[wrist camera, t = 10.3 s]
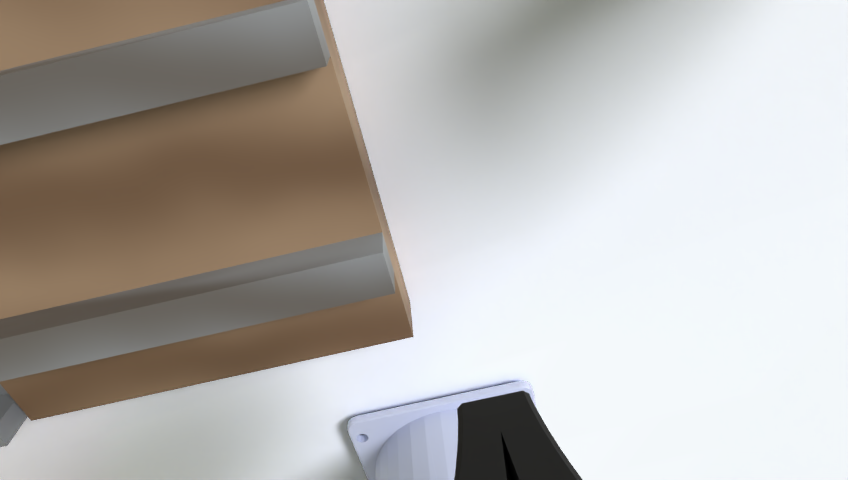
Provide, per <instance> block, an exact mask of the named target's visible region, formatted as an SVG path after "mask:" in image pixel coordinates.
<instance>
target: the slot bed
mask: <svg viewBox="0 0 848 480" xmlns="http://www.w3.org/2000/svg"><path fill="white" fill-rule="evenodd" d="M410 337H413V329H412V318H411V308H410V300H409V297H408V294H407V290H406V287H405V283H404V280H403V276H402V273H401V269H400V266H399V262H398V259H397V255H396V252H395V248H394V245H393V241H392V238H391V234H390V231H389V227H388V224H387V220H386V217H385V213H384V210H383V206H382V203H381V199H380V196H379V192H378V189H377V185H376V182H375V178H374V175H373V171H372V168H371V164H370V161H369V157H368V154H367V150H366V147H365V143H364V140H363V136H362V133H361V129H360V126H359V123H358V119H357V116H356V112H355V109H354V105H353V102H352V98H351V95H350V91H349V88H348V84H347V81H346V77H345V74H344V70H343V67H342V63H341V60H340V56H339V53H338V49H337V46H336V42H335V39H334V35H333V32H332V28H331V25H330V21H329V18H328V14H327V11H326V7H325V4H324V0H0V384H1V386H2V387H3V388H4V389H5V390H6V391H7V393H8V394H9V395H10V396H11V397H12V398H13V400H14V401H15V402H16V403H17V404H18V406H19V407H20V408H21V409H22V410H23V411H24V413H25V414H26V415H27V416H28V417H29V418H30V420H31V421H32V420H37V419H41V418H46V417H50V416H55V415H59V414H64V413H69V412H73V411H78V410H82V409H87V408H91V407H96V406H100V405H105V404H110V403H114V402H119V401H123V400H128V399H132V398H137V397H141V396H146V395H150V394H155V393H160V392H164V391H169V390H173V389H178V388H182V387H187V386H191V385H196V384H201V383H205V382H210V381H214V380H219V379H223V378H228V377H232V376H237V375H241V374H246V373H251V372H255V371H260V370H264V369H269V368H273V367H278V366H282V365H287V364H292V363H296V362H301V361H305V360H310V359H314V358H319V357H323V356H328V355H333V354H337V353H342V352H346V351H351V350H355V349H360V348H364V347H369V346H373V345H378V344H383V343H387V342H392V341H396V340H401V339H405V338H410Z"/></svg>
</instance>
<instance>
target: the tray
mask: <svg viewBox="0 0 848 480" xmlns="http://www.w3.org/2000/svg"><path fill="white" fill-rule="evenodd" d="M27 417H28V416H27V415H26V414H25V413H24V411H23V410H22V409H21V408H20V407H19V406H18V404H17V403H16V402H15V401H14V400H13V398H12V397H11V396H10V395H9V394H8V393H7V391H6V390H5V389H4V388H3V387H2V386H1V384H0V447H2V446H7V445H8V444H9V442H10V441H11V440H12V438H13V437H14V435H15V434H16V432H17V431H18V429H19V428H20V427H21V425H22V424H23V422H24V421H25V419H26V418H27Z"/></svg>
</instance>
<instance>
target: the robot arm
mask: <svg viewBox="0 0 848 480" xmlns="http://www.w3.org/2000/svg"><path fill="white" fill-rule="evenodd" d="M347 431H348V434H349V436H350V439H351V441H352V443H353V446H354V448H355V450H356V453H357V455H358V457H359V460H360V462H361V465H362V467H363V469H364V472H365V474H366V476H367V479H368V480H582V479H581V477H580V476H579V474H578V473H577V472H576V470H575V469H574V468H573V466H572V465H571V463H570V462H569V461H568V459H567V458H566V456H565V455H564V453H563V452H562V450H561V449H560V447H559V446H558V444H557V443H556V441H555V440H554V438H553V436H552V435H551V433H550V432H549V430H548V428H547V427H546V425H545V423H544V422H543V420H542V418H541V416H540V415H539V413H538V411H537V409H536V404H535V398H534V392H533V389H532V386H531V384H530V383H528V382H526V381H517V382H512V383H507V384H503V385H498V386H493V387H489V388H484V389H479V390H475V391H470V392H465V393H461V394H456V395H451V396H447V397H442V398H437V399H433V400H428V401H423V402H419V403H414V404H410V405H405V406H400V407H396V408H391V409H386V410H382V411H377V412H372V413H368V414H363V415H358V416H355V417H352V418H351V419H350V420H349V421H348V425H347ZM360 434H365V435H360Z"/></svg>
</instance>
